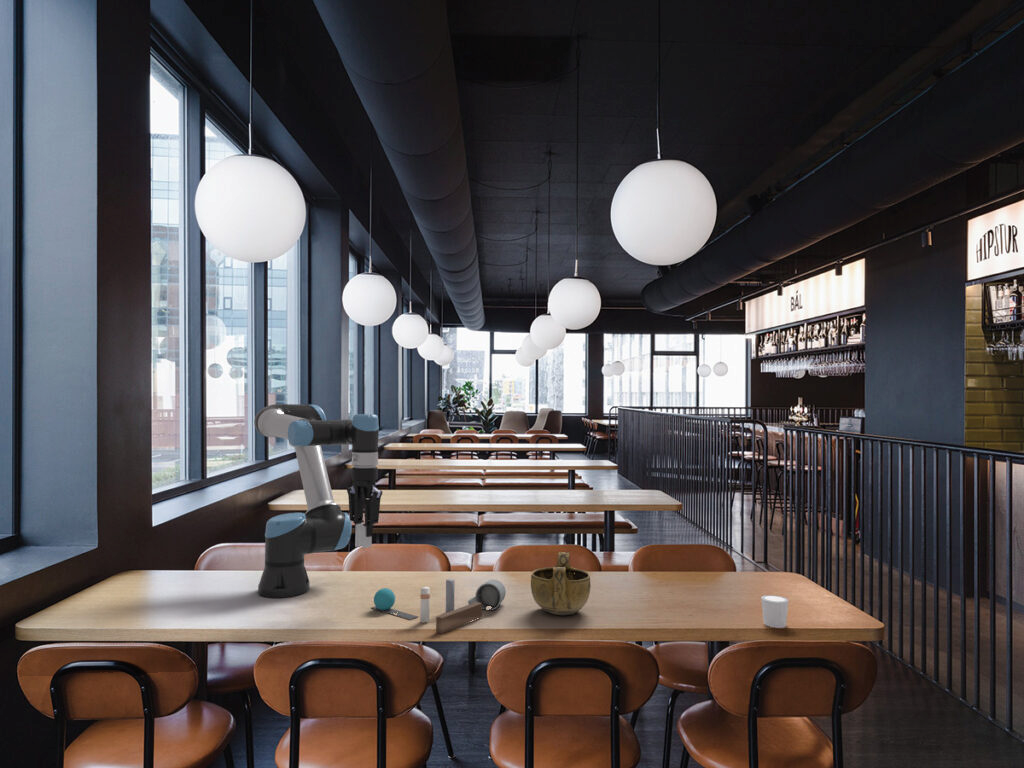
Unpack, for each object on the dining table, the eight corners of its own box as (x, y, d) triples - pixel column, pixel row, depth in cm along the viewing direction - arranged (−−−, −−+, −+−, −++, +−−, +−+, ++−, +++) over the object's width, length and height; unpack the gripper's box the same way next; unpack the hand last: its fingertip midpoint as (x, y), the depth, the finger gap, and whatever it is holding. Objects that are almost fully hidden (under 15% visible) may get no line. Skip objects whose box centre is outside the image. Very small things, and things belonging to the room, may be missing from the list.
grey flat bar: (370, 608, 186) (370, 607, 186) (378, 605, 188) (378, 605, 188) (410, 620, 176) (410, 619, 176) (418, 617, 178) (418, 616, 178)
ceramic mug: (507, 603, 192) (506, 577, 192) (501, 611, 184) (500, 584, 184) (472, 601, 194) (472, 575, 194) (464, 609, 186) (464, 582, 186)
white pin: (418, 622, 174) (418, 588, 175) (424, 619, 176) (425, 586, 177) (424, 623, 173) (425, 589, 173) (431, 621, 175) (431, 587, 175)
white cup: (756, 620, 179) (756, 594, 179) (780, 619, 180) (780, 594, 180) (768, 629, 172) (768, 602, 172) (793, 628, 173) (793, 602, 173)
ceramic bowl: (589, 627, 172) (589, 570, 172) (525, 623, 174) (526, 567, 175) (591, 602, 194) (591, 551, 194) (534, 598, 196) (535, 549, 197)
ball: (369, 610, 184) (369, 589, 184) (385, 605, 188) (385, 584, 189) (383, 614, 180) (383, 592, 180) (399, 609, 185) (399, 588, 185)
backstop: (436, 632, 167) (436, 616, 167) (476, 616, 179) (476, 601, 180) (441, 634, 165) (442, 618, 166) (481, 618, 178) (482, 603, 178)
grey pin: (443, 612, 182) (444, 580, 183) (449, 610, 184) (450, 578, 185) (450, 614, 181) (450, 581, 181) (455, 612, 183) (456, 580, 183)
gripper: (337, 465, 193) (335, 545, 192) (372, 469, 184) (371, 552, 183) (357, 463, 199) (356, 541, 198) (392, 467, 190) (391, 548, 189)
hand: (363, 546), depth 191 cm, fingers open, 3 cm apart
